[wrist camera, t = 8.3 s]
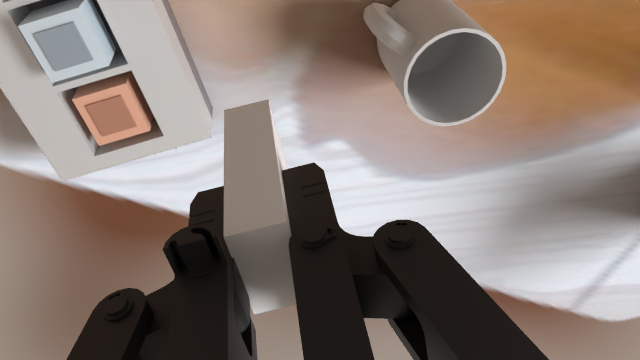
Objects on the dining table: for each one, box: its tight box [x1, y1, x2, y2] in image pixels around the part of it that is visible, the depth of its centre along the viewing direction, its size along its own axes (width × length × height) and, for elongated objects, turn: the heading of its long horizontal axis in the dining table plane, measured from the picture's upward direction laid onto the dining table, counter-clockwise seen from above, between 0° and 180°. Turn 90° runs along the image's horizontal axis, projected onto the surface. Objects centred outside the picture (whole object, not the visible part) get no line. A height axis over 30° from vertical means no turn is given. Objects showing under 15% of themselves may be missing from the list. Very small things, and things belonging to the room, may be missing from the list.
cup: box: [363, 0, 506, 126], centre depth 41 cm, size 7×10×9 cm
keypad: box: [0, 0, 213, 181], centre depth 39 cm, size 20×12×5 cm, turn 15°
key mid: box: [18, 0, 116, 83], centre depth 37 cm, size 4×4×3 cm
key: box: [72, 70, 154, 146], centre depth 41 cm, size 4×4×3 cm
